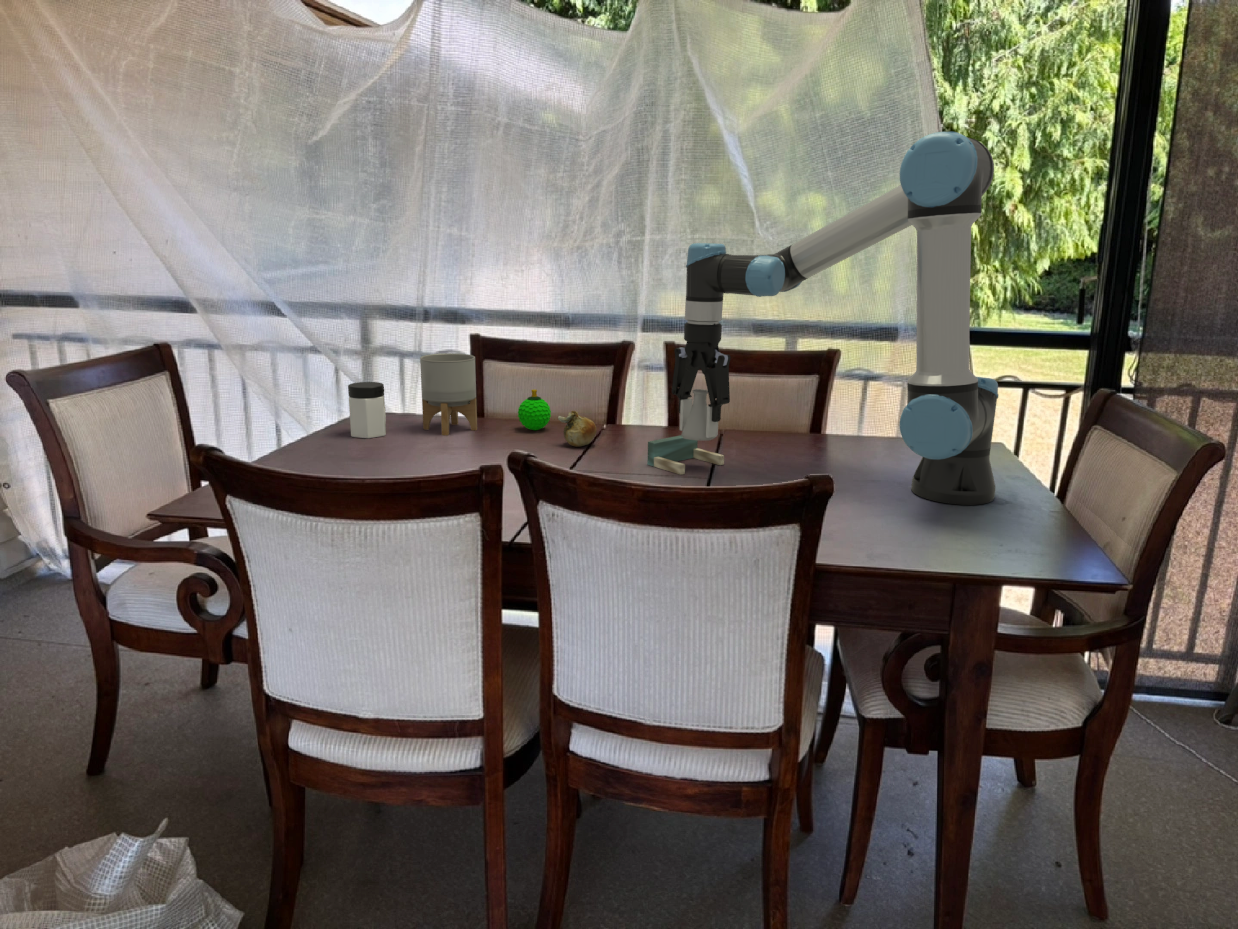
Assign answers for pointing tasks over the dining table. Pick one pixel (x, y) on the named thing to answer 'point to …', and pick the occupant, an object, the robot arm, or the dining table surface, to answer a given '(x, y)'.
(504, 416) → the dining table surface
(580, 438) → the onion
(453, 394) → the planter
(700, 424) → the flask
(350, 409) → the jar
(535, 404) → the ornament
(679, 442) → the pocket
